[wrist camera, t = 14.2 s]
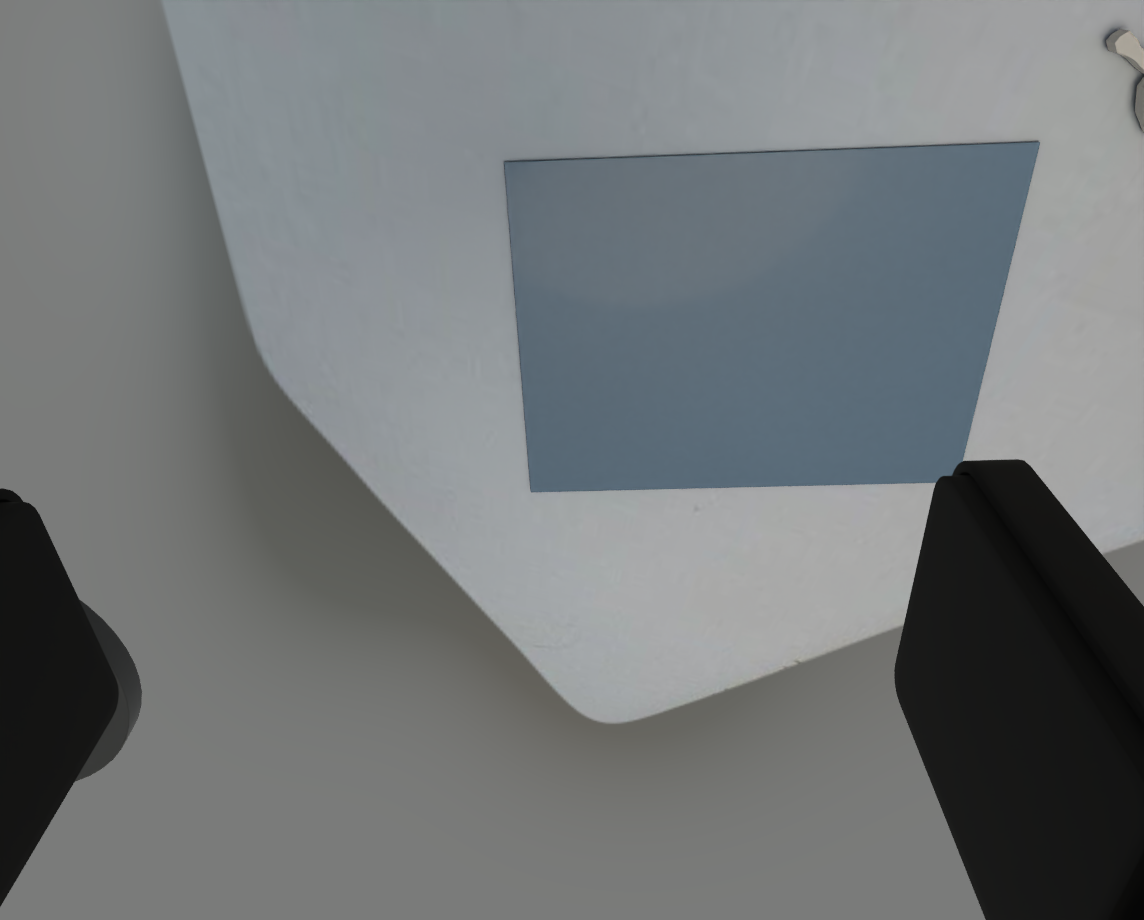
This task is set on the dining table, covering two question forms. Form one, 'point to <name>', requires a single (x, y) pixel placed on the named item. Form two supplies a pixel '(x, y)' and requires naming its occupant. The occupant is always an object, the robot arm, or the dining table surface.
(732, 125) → the dining table surface
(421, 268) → the dining table surface
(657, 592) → the dining table surface
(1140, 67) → the scissors
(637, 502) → the dining table surface
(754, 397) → the napkin
